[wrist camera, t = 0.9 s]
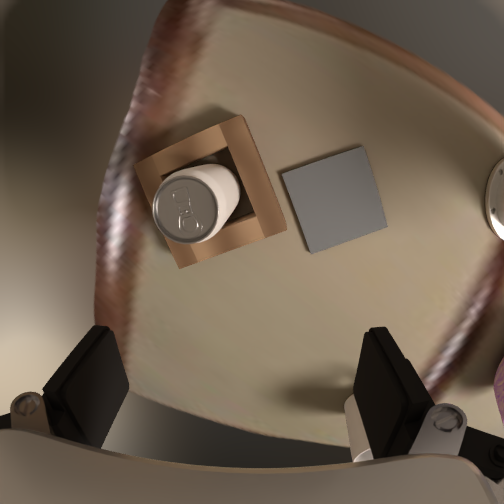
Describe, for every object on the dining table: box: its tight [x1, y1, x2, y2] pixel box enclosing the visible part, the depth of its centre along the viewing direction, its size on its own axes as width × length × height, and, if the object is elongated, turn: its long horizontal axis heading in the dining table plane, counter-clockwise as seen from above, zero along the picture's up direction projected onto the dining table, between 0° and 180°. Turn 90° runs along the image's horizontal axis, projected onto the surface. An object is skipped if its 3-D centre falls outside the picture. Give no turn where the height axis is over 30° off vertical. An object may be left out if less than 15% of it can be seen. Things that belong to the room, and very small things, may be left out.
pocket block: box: [133, 115, 287, 269], centre depth 34 cm, size 13×13×4 cm
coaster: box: [282, 146, 388, 254], centre depth 34 cm, size 10×10×1 cm
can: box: [152, 164, 240, 244], centre depth 30 cm, size 6×6×12 cm
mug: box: [344, 394, 373, 462], centre depth 38 cm, size 10×7×12 cm, turn 156°
